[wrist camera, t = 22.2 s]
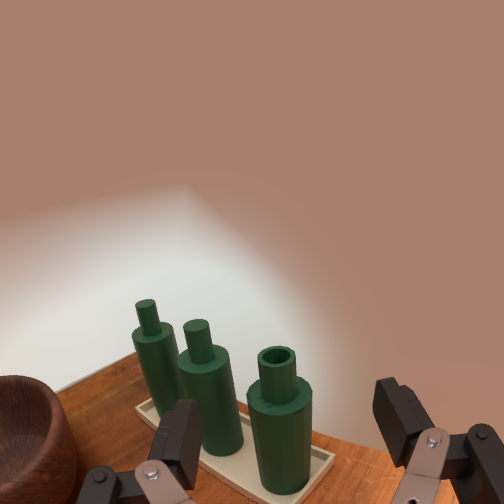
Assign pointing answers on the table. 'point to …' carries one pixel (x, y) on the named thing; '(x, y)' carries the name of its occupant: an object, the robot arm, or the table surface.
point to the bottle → (281, 422)
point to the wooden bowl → (34, 444)
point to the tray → (248, 464)
